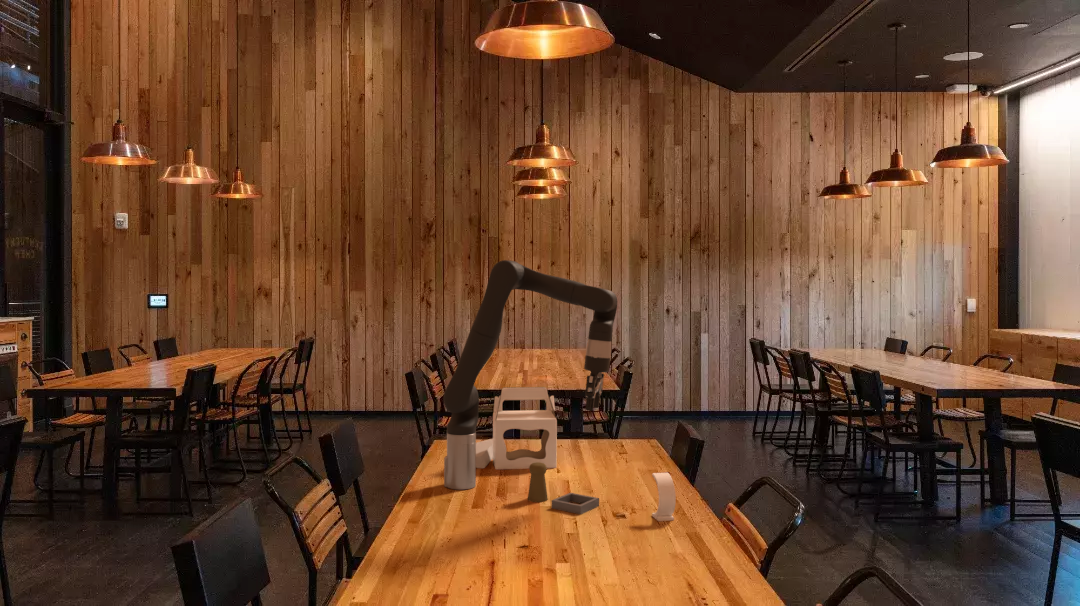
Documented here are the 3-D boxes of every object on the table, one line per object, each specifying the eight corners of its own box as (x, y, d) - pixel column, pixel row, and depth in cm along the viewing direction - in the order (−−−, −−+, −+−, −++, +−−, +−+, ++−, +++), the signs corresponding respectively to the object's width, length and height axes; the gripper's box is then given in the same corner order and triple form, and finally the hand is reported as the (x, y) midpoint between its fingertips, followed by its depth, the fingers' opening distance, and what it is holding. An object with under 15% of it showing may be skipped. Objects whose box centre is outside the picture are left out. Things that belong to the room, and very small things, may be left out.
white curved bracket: (667, 514, 208) (667, 472, 208) (675, 521, 202) (676, 477, 202) (651, 515, 207) (652, 473, 207) (659, 522, 201) (660, 478, 201)
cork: (527, 496, 226) (527, 460, 225) (546, 496, 226) (546, 460, 226) (528, 502, 220) (528, 465, 219) (548, 502, 220) (548, 465, 220)
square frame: (551, 508, 214) (551, 500, 214) (570, 500, 222) (570, 492, 222) (580, 514, 208) (581, 506, 208) (599, 505, 216) (599, 498, 216)
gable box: (551, 459, 275) (552, 384, 275) (557, 468, 262) (557, 389, 262) (492, 461, 272) (492, 385, 272) (494, 469, 259) (494, 390, 259)
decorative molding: (458, 475, 262) (485, 468, 261) (454, 462, 262) (481, 455, 261) (479, 454, 296) (502, 448, 295) (476, 442, 296) (499, 436, 295)
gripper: (590, 352, 230) (584, 404, 230) (580, 354, 216) (574, 409, 216) (614, 355, 228) (608, 408, 228) (606, 357, 214) (599, 413, 214)
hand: (592, 408), depth 222 cm, fingers open, 8 cm apart
